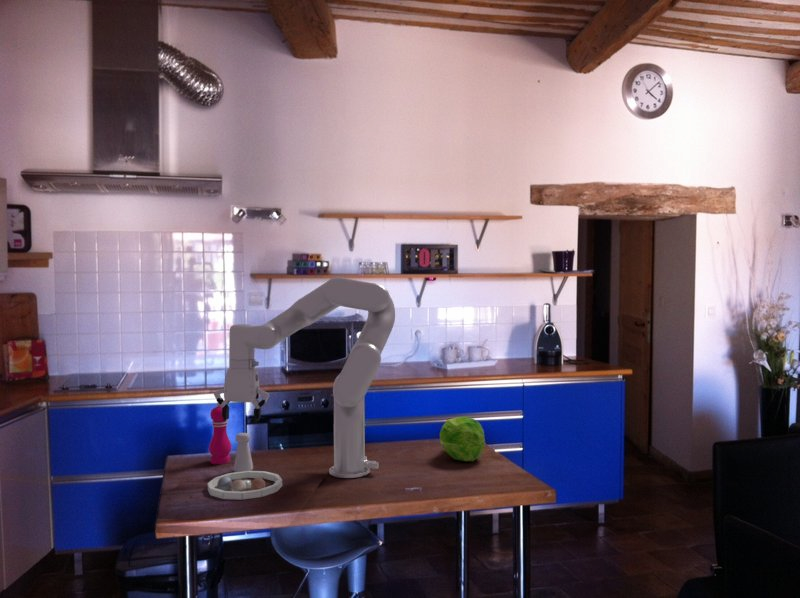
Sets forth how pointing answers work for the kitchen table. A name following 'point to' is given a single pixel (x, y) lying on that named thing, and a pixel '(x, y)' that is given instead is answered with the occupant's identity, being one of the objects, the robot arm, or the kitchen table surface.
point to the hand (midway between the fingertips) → (241, 420)
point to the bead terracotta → (258, 484)
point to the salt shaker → (243, 454)
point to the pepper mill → (219, 438)
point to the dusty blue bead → (224, 483)
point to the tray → (243, 494)
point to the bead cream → (238, 486)
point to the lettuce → (462, 438)
